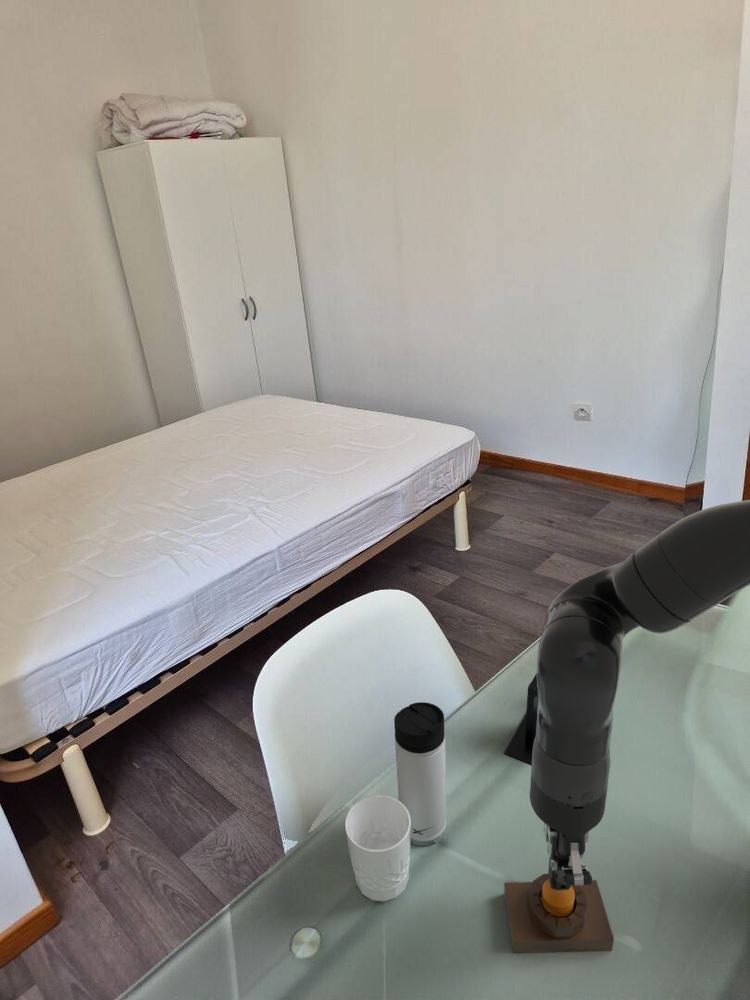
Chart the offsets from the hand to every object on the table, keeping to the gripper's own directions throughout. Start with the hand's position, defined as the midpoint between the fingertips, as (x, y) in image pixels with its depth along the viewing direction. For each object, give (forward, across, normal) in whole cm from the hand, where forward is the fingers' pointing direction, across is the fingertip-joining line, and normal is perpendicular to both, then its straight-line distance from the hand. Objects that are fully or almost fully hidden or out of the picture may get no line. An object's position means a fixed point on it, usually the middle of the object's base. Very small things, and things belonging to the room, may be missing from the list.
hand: (559, 883), depth 77 cm
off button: (+4, 0, 0) cm, 4 cm away
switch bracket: (+7, -27, +5) cm, 28 cm away
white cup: (+7, -6, -20) cm, 22 cm away
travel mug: (+7, -13, -14) cm, 21 cm away
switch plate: (+7, 0, 0) cm, 7 cm away
